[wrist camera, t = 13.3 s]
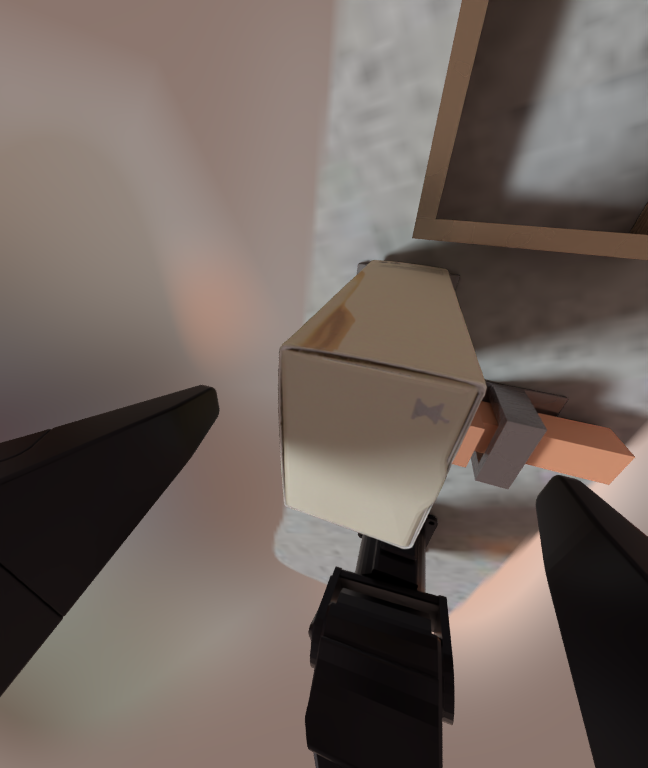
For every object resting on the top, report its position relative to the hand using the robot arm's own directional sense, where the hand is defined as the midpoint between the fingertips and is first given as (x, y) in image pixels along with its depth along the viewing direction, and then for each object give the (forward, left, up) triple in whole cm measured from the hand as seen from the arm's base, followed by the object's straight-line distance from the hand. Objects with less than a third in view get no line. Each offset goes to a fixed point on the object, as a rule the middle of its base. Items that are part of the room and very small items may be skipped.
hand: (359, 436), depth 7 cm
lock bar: (-6, -8, -12) cm, 16 cm away
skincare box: (0, 0, -12) cm, 12 cm away
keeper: (-6, -6, -12) cm, 15 cm away
